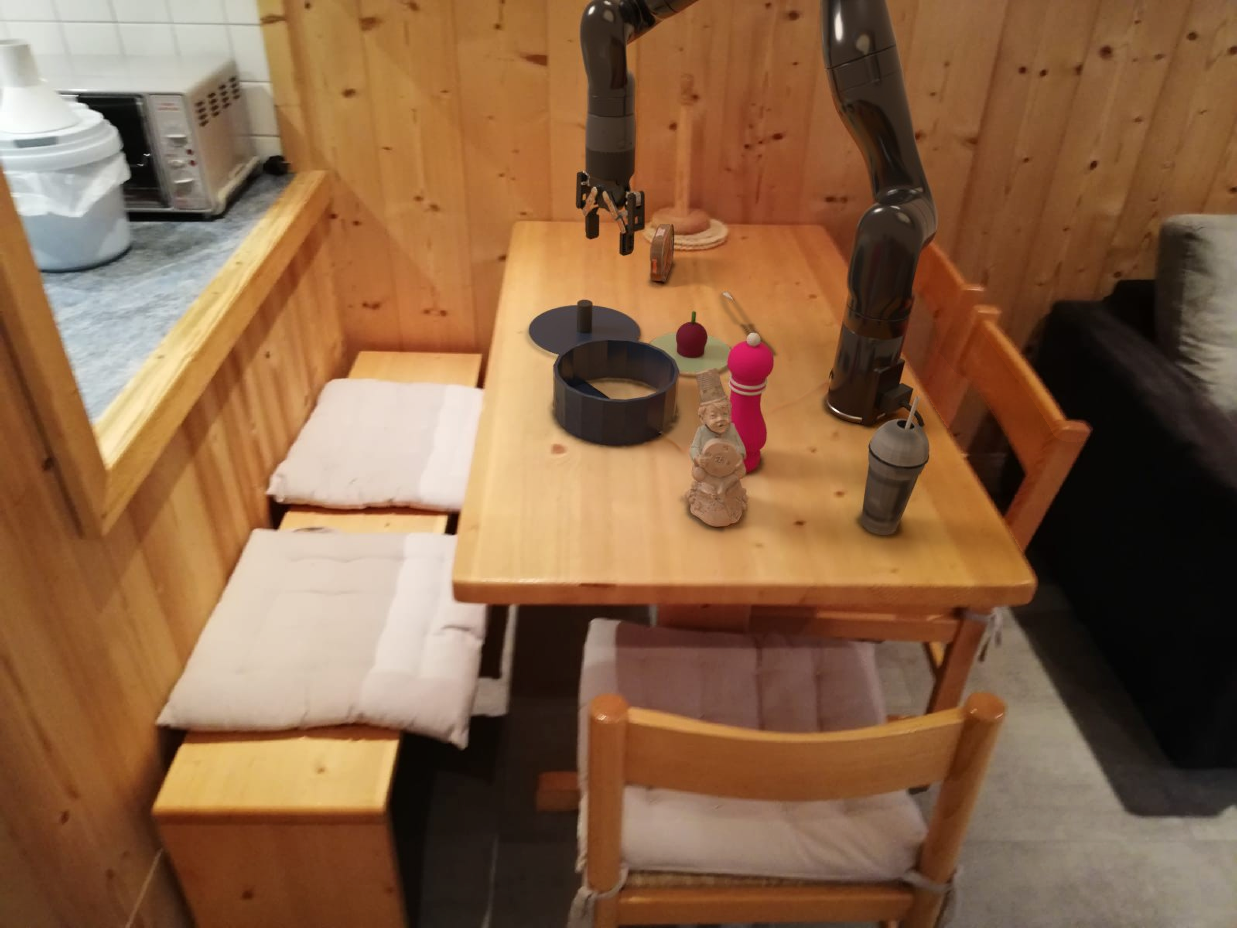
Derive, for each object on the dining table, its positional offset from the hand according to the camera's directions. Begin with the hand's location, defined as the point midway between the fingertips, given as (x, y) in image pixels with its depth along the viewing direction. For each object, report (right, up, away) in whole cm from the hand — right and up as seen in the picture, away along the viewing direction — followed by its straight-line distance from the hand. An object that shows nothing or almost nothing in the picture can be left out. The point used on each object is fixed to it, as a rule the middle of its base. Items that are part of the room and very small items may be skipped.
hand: (608, 246), depth 145 cm
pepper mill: (+18, -34, -17) cm, 43 cm away
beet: (+14, -16, +6) cm, 22 cm away
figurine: (+14, -41, -26) cm, 50 cm away
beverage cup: (+35, -43, -28) cm, 62 cm away
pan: (+1, -27, -8) cm, 28 cm away
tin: (+10, +3, +33) cm, 35 cm away
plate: (+13, -17, +6) cm, 23 cm away
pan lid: (-4, -12, +11) cm, 17 cm away
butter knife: (+24, -10, +17) cm, 31 cm away
